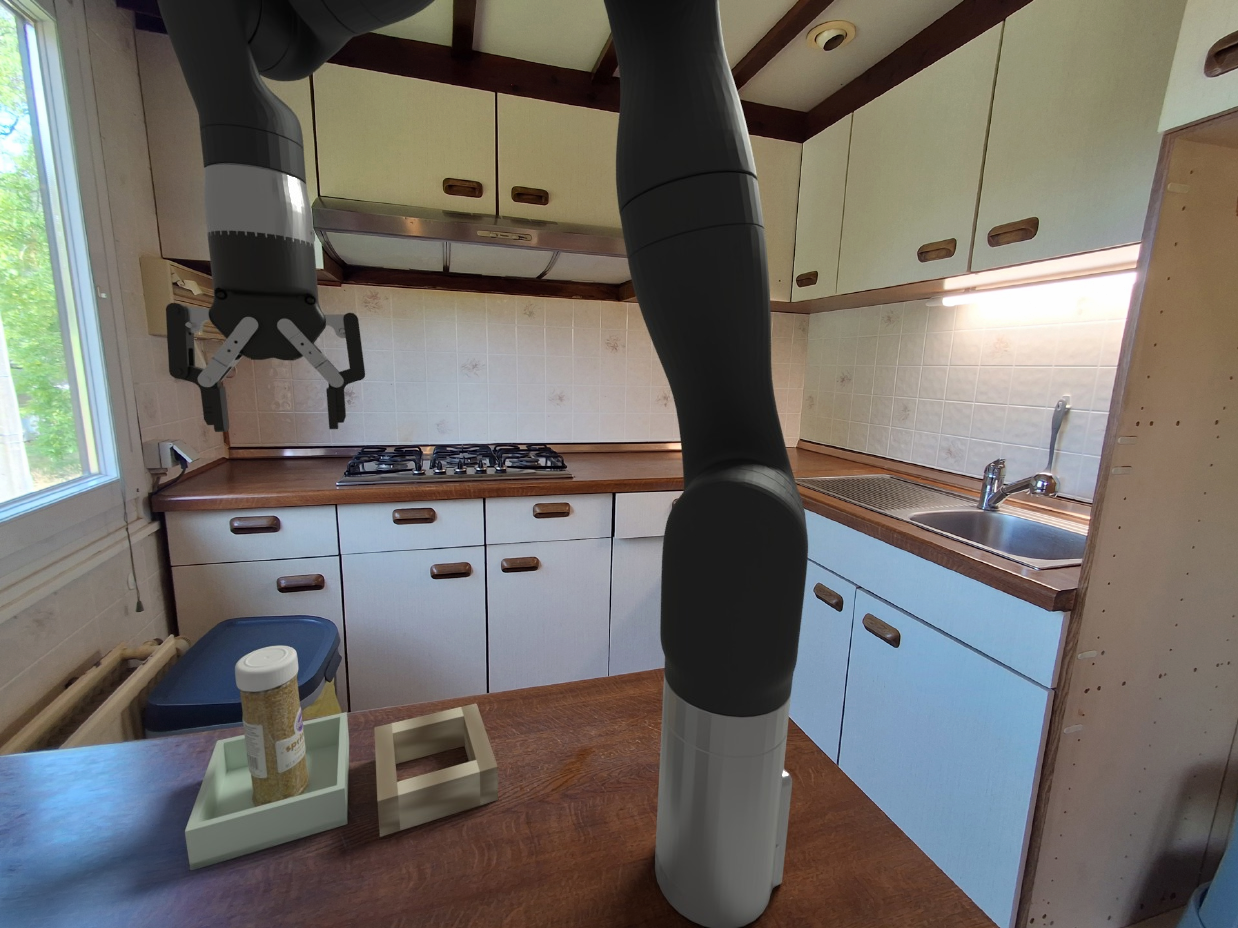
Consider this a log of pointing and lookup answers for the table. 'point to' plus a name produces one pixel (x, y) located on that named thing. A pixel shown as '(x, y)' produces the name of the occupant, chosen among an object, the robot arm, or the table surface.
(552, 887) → the table surface
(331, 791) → the tray
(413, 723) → the socket block
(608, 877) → the table surface
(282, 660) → the sprinkles bottle
